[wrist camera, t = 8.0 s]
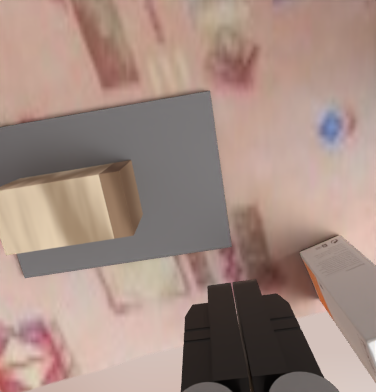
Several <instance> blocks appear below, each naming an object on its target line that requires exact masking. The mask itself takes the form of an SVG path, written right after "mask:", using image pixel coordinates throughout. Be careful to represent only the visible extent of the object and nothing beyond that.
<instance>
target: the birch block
mask: <svg viewBox="0 0 376 392" xmlns="http://www.w3.org/2000/svg"><path fill="white" fill-rule="evenodd" d="M142 215H143V212H142V208H141V203H140V198H139V194H138V189H137V184H136V180H135V175H134V170H133V166H132V161H131V160H128V161H122V162H116V163H110V164H104V165H98V166H92V167H86V168H80V169H74V170H68V171H62V172H56V173H50V174H44V175H38V176H32V177H26V178H20V179H17V180H15V181H13V182H10V183H8V184H5V185H3V186H1V187H0V239H1V242H2V245H3V248H4V251H5V254H6V255H12V254H19V253H25V252H32V251H38V250H44V249H51V248H57V247H64V246H70V245H77V244H83V243H90V242H96V241H102V240H109V239H115V238H122V237H128V236H134V234H135V232H136V229H137V227H138V225H139V222H140V220H141V218H142Z"/></svg>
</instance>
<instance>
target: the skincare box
mask: <svg viewBox="0 0 376 392" xmlns="http://www.w3.org/2000/svg"><path fill="white" fill-rule="evenodd" d="M300 255H301V258H302V260H303V262H304V264H305V266H306V268H307V271H308V273H309V275H310V277H311V280H312V282H313V285H314V287H315V290H316V292H317V295H318V297H319V299H320V301H321V303H322V304H323V306H324V307H325V309H326V310H327V312H328V313H329V315H330V316H331V317H332V319H333V321H334V322H335V323H336V325H337V326H338V328H339V329H340V331H341V332H342V334H343V335H344V337H345V338H346V340H347V341H348V343H349V344H350V346H351V347H352V349H353V350H354V352H355V353H356V354H357V356H358V357H359V359H360V361H361V362H362V364H363V365H364V366H365V368H366V369H367V371H368V372H369V374H370V375H371V377H372V378H373V379H374V381H375V382H376V265H374V264H373V263H372V262H371V261H370V260H369V259H368V258H366V257H365V256H364V255H363V254H362V253H361V252H360V251H358V250H357V249H356V248H355V247H354V246H353V245H351V244H350V243H349V242H348V241H347V240H346V239H344V238H343V237H342V236H341V235H339V236H336V237H334V238H331V239H329V240H327V241H325V242H322V243H320V244H317V245H315V246H313V247H310V248H308V249H305V250H303V251H301V252H300Z"/></svg>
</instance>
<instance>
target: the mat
mask: <svg viewBox="0 0 376 392" xmlns="http://www.w3.org/2000/svg"><path fill="white" fill-rule="evenodd" d="M128 160H131V161H132V166H133V170H134V175H135V180H136V184H137V189H138V194H139V198H140V203H141V208H142V212H143V215H142V218H141V220H140V222H139V225H138V227H137V229H136V232H135V234H134V236H128V237H122V238H115V239H109V240H102V241H96V242H90V243H83V244H77V245H70V246H64V247H57V248H51V249H44V250H38V251H32V252H25V253H19V254H17V256H18V259H19V262H20V265H21V268H22V271H23V274H24V277H25V278H29V277H36V276H42V275H49V274H56V273H62V272H69V271H75V270H82V269H89V268H95V267H102V266H108V265H115V264H122V263H128V262H135V261H142V260H148V259H155V258H161V257H168V256H175V255H181V254H188V253H194V252H201V251H208V250H214V249H221V248H227V247H232V246H231V238H230V231H229V224H228V217H227V210H226V203H225V195H224V188H223V181H222V174H221V167H220V160H219V153H218V145H217V138H216V131H215V124H214V117H213V110H212V103H211V95H210V91H206V92H201V93H195V94H189V95H183V96H178V97H172V98H166V99H160V100H155V101H149V102H143V103H137V104H132V105H126V106H120V107H114V108H109V109H103V110H97V111H91V112H86V113H80V114H74V115H68V116H63V117H57V118H51V119H45V120H40V121H34V122H28V123H22V124H17V125H11V126H5V127H0V187H1V186H3V185H5V184H8V183H10V182H13V181H15V180H17V179H20V178H26V177H32V176H38V175H44V174H50V173H56V172H62V171H68V170H74V169H80V168H86V167H92V166H98V165H104V164H110V163H116V162H122V161H128Z"/></svg>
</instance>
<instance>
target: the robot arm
mask: <svg viewBox="0 0 376 392" xmlns="http://www.w3.org/2000/svg"><path fill="white" fill-rule="evenodd" d="M233 290H234V296H235V303H236V309H235V303H234V298H233V293H232V288H231V283H225V284H217V285H210V286H208V303H203V304H195V305H192V307H191V308H190V310H189V311H188V313H187V315H186V316H185V333H184V347H183V366H182V384H181V392H339V391H338V389H337V388H336V387H335V386H334V385H333V384H331V383H330V382H329V381H328V380H326V379H325V378H324V376H323V374H322V373H321V371H320V368H319V366H318V364H317V362H316V360H315V358H314V356H313V353H312V351H311V349H310V347H309V345H308V343H307V341H306V339H305V336H304V334H303V332H302V330H301V329H300V326H299V324H298V321H297V319H296V318H295V315H294V313H293V311H292V309H291V307H290V304H289V303H288V302H287V301H286V300H284V299H283V298H282V297H281V296H279V295H278V294H270V295H261V292H260V289H259V286H258V283H257V280H256V279H253V280H246V281H239V282H233ZM236 310H237V314H236ZM237 316H238V319H237ZM238 323H239V324H238ZM250 389H251V390H250Z"/></svg>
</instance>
